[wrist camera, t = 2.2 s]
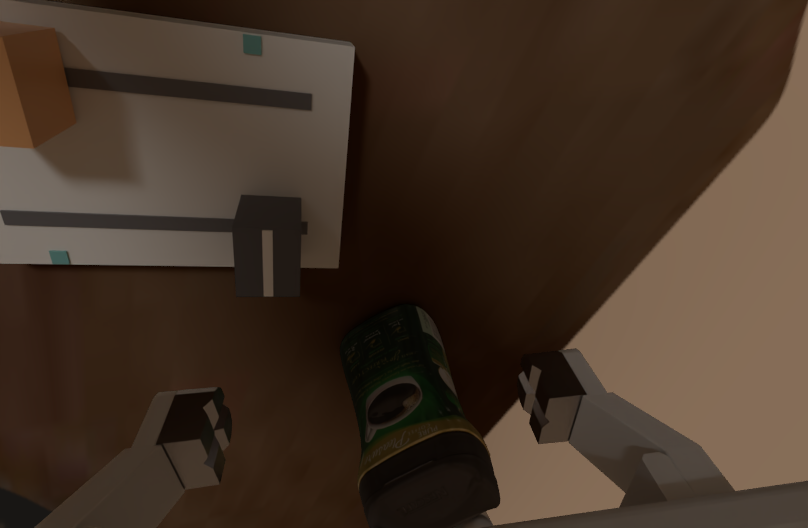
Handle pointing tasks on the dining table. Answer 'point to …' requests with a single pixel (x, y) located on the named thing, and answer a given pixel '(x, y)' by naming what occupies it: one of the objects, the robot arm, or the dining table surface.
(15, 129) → the fader
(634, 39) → the dining table surface
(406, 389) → the coffee jar
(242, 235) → the fader
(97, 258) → the console
